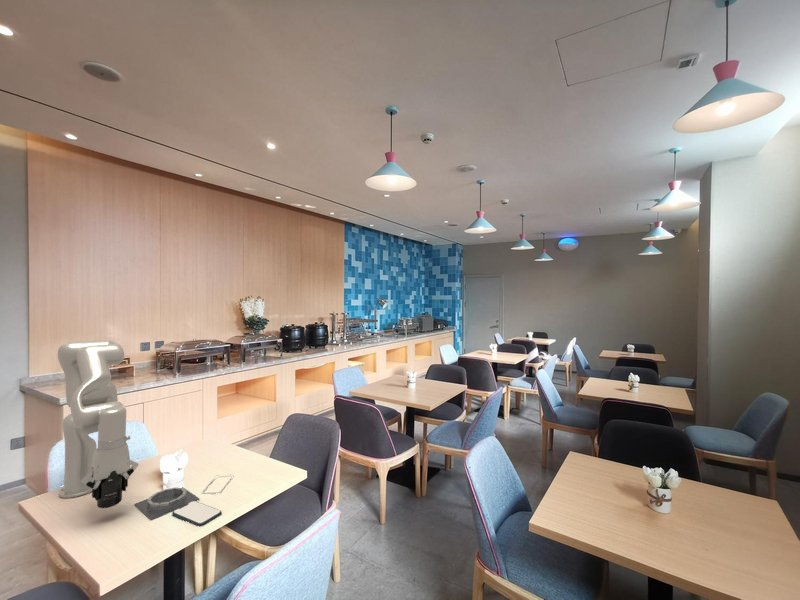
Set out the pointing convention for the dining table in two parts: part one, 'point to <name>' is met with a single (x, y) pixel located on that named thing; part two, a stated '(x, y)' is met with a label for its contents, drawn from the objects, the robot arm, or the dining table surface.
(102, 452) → the robot arm
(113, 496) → the supplement bottle
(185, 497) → the ring collar
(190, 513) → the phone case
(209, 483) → the phone case
